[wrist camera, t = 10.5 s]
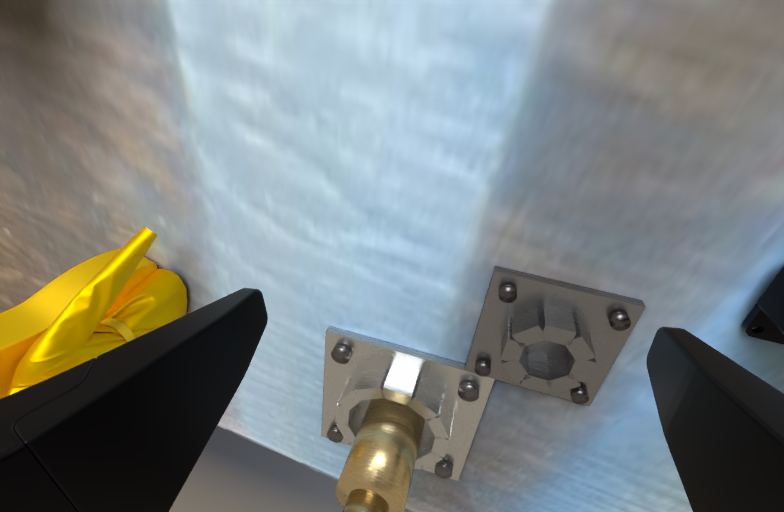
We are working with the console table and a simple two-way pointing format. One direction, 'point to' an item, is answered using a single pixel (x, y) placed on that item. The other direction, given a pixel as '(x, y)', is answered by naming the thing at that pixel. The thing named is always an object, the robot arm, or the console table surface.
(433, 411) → the flange large
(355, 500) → the gold metal cylinder
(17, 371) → the yellow tall sculpted piece
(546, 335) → the flange small
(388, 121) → the console table surface
